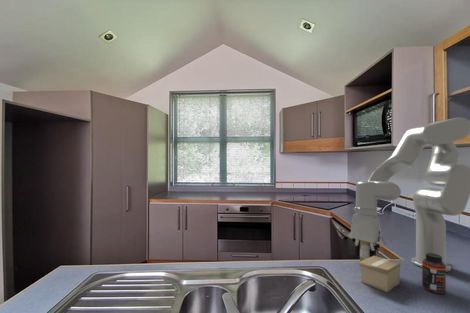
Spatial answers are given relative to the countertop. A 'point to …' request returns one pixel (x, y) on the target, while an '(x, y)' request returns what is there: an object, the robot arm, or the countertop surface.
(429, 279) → the supplement bottle
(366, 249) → the sprinkles bottle
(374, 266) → the lid
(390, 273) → the box
